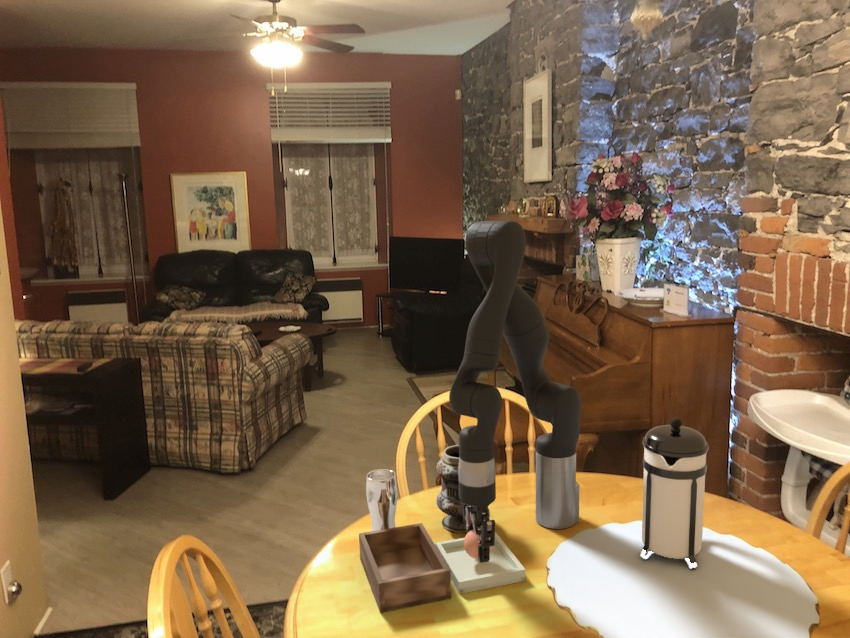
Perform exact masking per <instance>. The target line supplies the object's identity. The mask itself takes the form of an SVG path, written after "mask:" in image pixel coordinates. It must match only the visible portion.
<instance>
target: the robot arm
mask: <svg viewBox="0 0 850 638" xmlns="http://www.w3.org/2000/svg"><path fill="white" fill-rule="evenodd" d="M465 234H466V235H465V249H466V253H467V256H468V258H469V260H470V263H471V265H472V267H473V269H474V270H475V273H476V275H477V276H478V278H479V280H480V282H481V283H482V286H483V287H484V289H485V292H486V295H485V296H484V298H483V300H482V301H481V302H480V304H479V305H478V307H477V309H476V311H475V312H474V314H473V316H471V317H472V318H471V320H470V322H469V324H468V328H467V333H466V338H465V345H464V353H463V358H462V361H461V363H460V365H459V368H458V371H457V372H456V374H455V378H454V380H453V383H452V384H451V387H450V390H449V396H448V397H449V398H448V399H449V405H450V408H451V409H452V411H453V412H454V413H456V414H457V415H460V416H464V417H470V418H473V419H476V424H472V425H468V426H467V425H466V426H464V427H463V428H462V429H461V430H460V431H459V434H458V435H459V436H458V445H459V466H458V475H459V499H460V501H461V502H462V511H463V522H464V523H466V529H467V530H468V532H469V531H471V530H474V534H476V535H477V541H478V560H479V561H480V562H481V563H483V562H488V561H489V560H490V549H489V547H490V546H494V541H495V532H496V520H495V519H491V511H490V509H489V506H490V505H491V504H493V503H494V502H495V501H496V498H497V488H496V487H497V486H496V485H497V484H496V483H497V481H496V462H495V442H494V441H495V435H496V429H497V426H498V421H499V418H500V414H501V410H502V407H503V398H502V395H501V392H500V390H499V389H498V388H497V387H496V386H495V385H493V384H488V383H482V382H478V378H479V376H480V375H481V374H482V373H484V372H485V373H486V372H487V373H488V372H493V371H496V369H497V368H498V366H499V363H500V362H499V361H500V355H501V349H502V341H503V337H504V339H505V342H506V343H507V346H508V348H509V351H510V353H511V356H512V358H513V362H514V364H515V367H516V369H517V372H518V375H519V378H520V382H521V386H522V391H523V395H524V399H525V402H526V405H527V408H528V410H529V412H530V414H531V415H532V417H534V418H535V419H536V420H537V419H538V420H540V421H543V422H546V423H548V424H552V430H551V432H546V433H544V434H541V435H538V437H537V438H536V440H535V521H536V523H538V525H540V526H541V527H545V528H548V529H551V530H552V529H553V530H561V529H563V530H564V529H569V528H570V527H572V526H574V524H578V523H580V483H578V481H577V445H578V441H579V437H580V428H581V427H580V426H581V425H580V424H581V413H582V402H581V400H582V399H581V396H580V393H579V391H578V389H577V388H575V387H573V386H572V385H571V386H570V385H568V384H563V383H560V382H554V381H552V380H551V379H550V378H549V375H548V374H547V372H546V368H545V366H544V365H545V364H544V357H545V355H546V352H547V350H548V345H549V341H550V335H549V330H548V327H547V324H546V322H545V318H544V316H543V313H542V310H541V307H539V305H538V303H537V302H536V301H535V300H534V299H533V298H532V297H531V296H530V294H528V293H527V292H526V290H524V289H523V288H522V287H521V285H520V284H519V283H518V278H519V276H520V271H521V269H522V266H523V262H524V258H525V253H526V248H527V247H526V245H527V238H526V231H525V230H524V227H522V225H521V224H520V223H519V222H517V221H515V220H508V219H507V220H482V221H476V222H474V223H472V224H471V225H470V226H469V227H468V229H467V230H466V233H465ZM478 527H481V528H480V529H481V530H478V529H477V528H478Z"/></svg>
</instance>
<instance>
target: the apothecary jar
mask: <svg viewBox="0 0 850 638" xmlns="http://www.w3.org/2000/svg"><path fill="white" fill-rule="evenodd" d="M458 466H459V444H455V445H451V446H447V447H446V448H445V449H444V450H443V454H442V457H441V458H440V459H439V460H438V462H437V463H436V473H437V474H438V475H439V476H440V477H441V490H440V491H439V493H438V494H437V496H436V499H435V501H436V503H435V504H436V506H437V507H438V509H439V510H440V511H441V512H442V513H444V514H446V515H445V516H444V517H443V518H442V520H441V525H442V527H443V528H444V529H445V530H448V531H449V532H453V533H459V534H460V533H462V534H464V533H466V534H467V533H468V530H467V529H466V523H464V522H463V511H462V502H461V501H460V499H459V475H458ZM477 529H482V528H481V527H478V528H477Z"/></svg>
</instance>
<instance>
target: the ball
mask: <svg viewBox="0 0 850 638" xmlns="http://www.w3.org/2000/svg"><path fill="white" fill-rule="evenodd" d="M481 529H482V528H480V529H478V530H481ZM464 538H465V539H464V548H465V551H466V552H467V554H468V555H469V556H471V557H472V558H475V559H478V541H477V535H476V534H474V530H471V531H469V532H468V533H466V535H465V537H464ZM492 547H493V546H490V547H489V549H490V552H491V550H492Z"/></svg>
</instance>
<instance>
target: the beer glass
mask: <svg viewBox="0 0 850 638" xmlns="http://www.w3.org/2000/svg"><path fill="white" fill-rule="evenodd" d="M396 476H397V474H396V472H395V471H394V470H391V469H386V468H379V469H378V468H377V469H373V470H371V471H369V472H368V473H366V486H365V492H366V493H365V495H366V500H367V501H366V502H367V507H368V511H369V514H370V515H369V516H370V519H371V520H370V521H371V528H370V529H371V530H370V532H371V531H377V530H383V529H389V528H395V527H397V526H396V520H395V519H396V512H397V505H398V484H397V478H396Z"/></svg>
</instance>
